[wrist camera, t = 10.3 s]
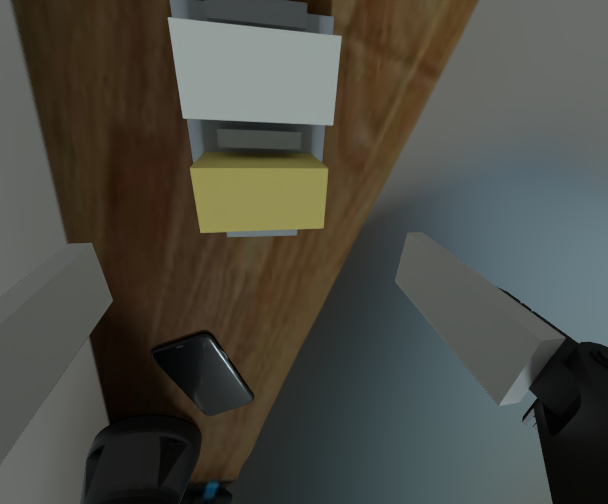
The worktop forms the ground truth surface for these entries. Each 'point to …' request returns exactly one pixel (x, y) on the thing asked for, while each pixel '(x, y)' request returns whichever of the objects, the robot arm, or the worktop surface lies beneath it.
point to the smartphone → (204, 373)
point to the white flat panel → (254, 73)
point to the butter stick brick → (259, 191)
